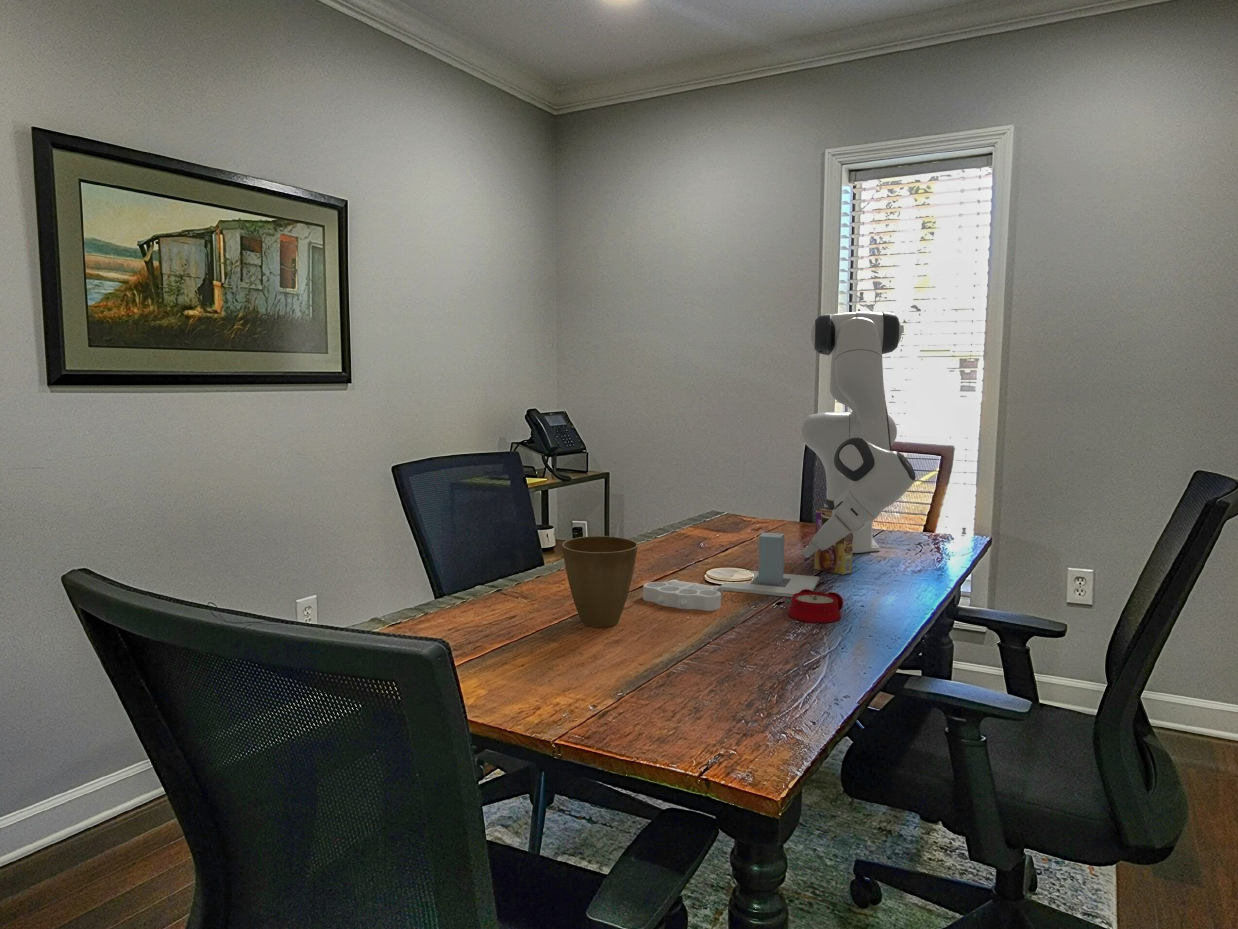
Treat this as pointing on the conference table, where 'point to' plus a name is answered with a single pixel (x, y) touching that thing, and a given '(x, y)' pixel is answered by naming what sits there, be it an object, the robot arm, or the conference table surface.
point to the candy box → (833, 549)
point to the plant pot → (599, 576)
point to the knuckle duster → (683, 595)
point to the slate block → (771, 558)
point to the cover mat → (774, 585)
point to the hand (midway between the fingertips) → (807, 550)
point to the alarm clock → (816, 606)
